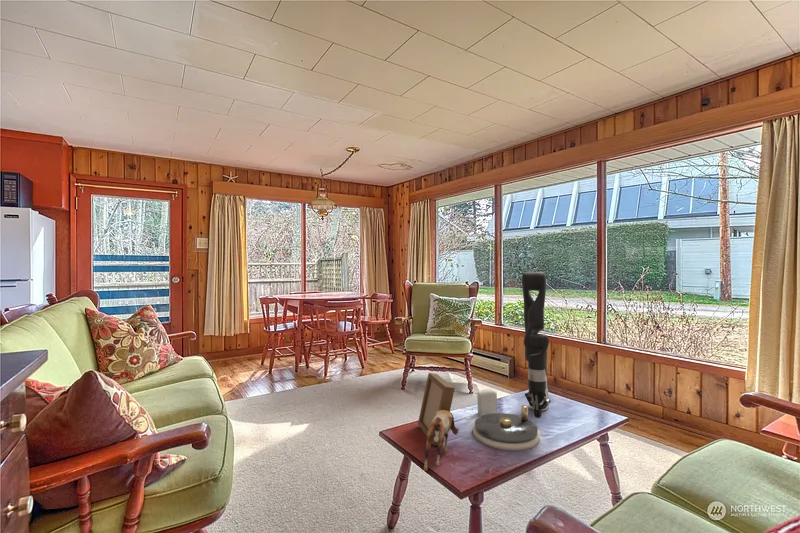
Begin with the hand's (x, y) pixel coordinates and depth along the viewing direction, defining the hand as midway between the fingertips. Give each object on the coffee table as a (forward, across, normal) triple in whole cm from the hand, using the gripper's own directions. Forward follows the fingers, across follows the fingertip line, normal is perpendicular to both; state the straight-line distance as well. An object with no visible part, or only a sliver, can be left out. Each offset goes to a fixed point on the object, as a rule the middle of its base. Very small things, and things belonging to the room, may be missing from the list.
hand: (537, 417), depth 164 cm
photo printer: (+8, +30, +3) cm, 31 cm away
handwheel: (+5, +8, +12) cm, 15 cm away
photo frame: (+8, +23, +37) cm, 44 cm away
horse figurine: (+8, +4, +48) cm, 48 cm away
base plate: (+8, +8, +12) cm, 16 cm away
